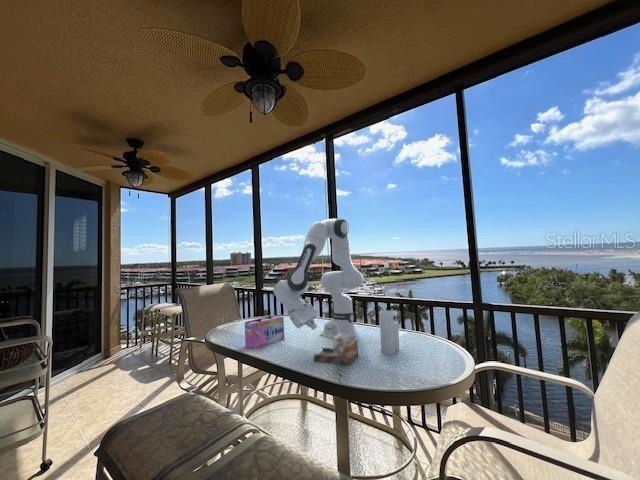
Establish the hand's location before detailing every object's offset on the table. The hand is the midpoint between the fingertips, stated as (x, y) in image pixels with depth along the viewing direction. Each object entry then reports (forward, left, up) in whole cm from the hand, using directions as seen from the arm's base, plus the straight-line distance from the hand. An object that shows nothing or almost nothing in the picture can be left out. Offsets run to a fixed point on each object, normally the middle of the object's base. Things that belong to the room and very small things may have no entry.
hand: (315, 328), depth 146 cm
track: (+11, +2, -13) cm, 17 cm away
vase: (+28, +24, -13) cm, 39 cm away
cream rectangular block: (+14, +2, -11) cm, 18 cm away
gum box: (-39, +1, -14) cm, 41 cm away
